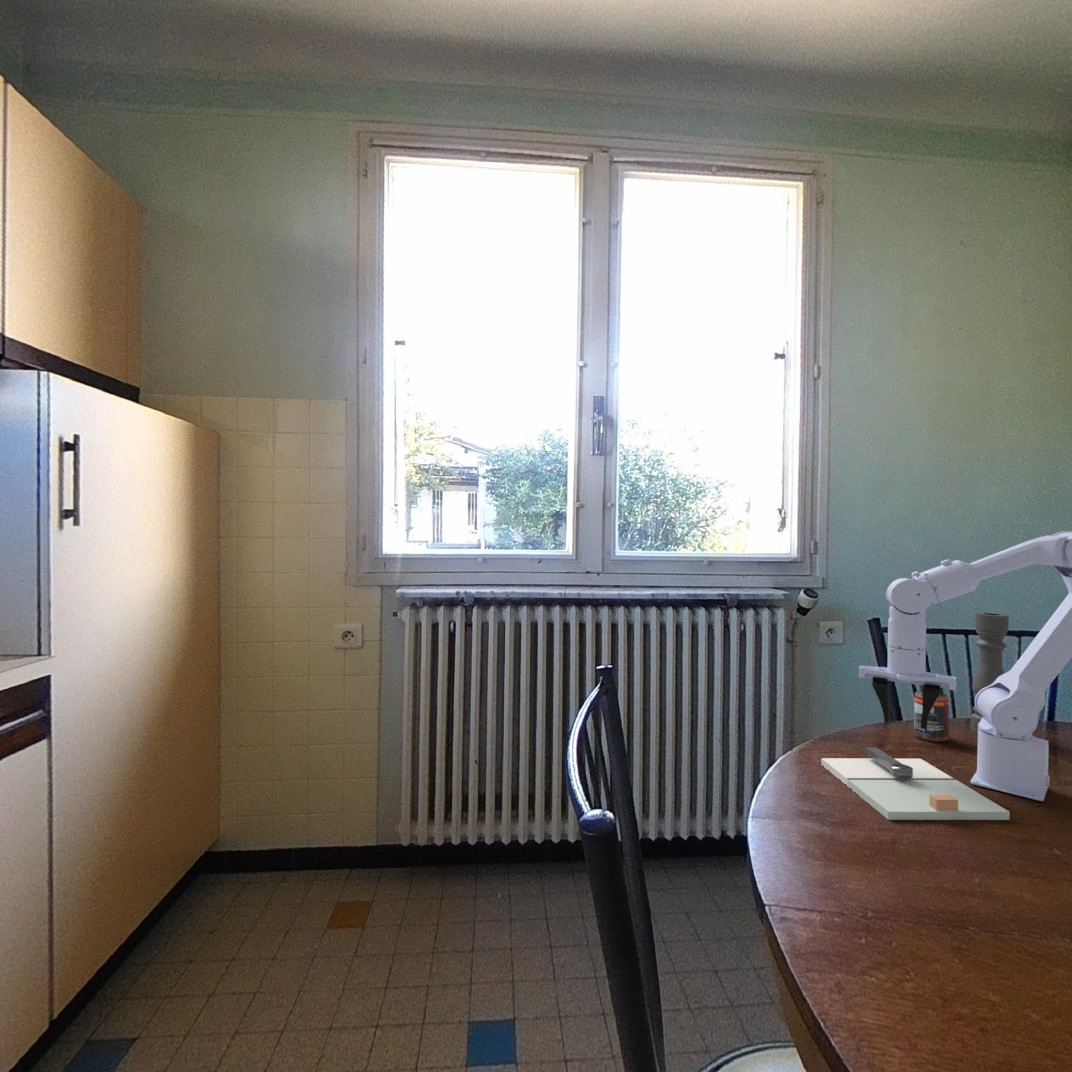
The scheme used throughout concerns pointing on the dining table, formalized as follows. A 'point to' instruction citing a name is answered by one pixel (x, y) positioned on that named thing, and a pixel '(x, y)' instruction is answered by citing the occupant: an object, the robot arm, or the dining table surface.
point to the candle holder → (988, 654)
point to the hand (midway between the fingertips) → (905, 724)
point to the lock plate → (913, 791)
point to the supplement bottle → (932, 718)
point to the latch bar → (890, 763)
